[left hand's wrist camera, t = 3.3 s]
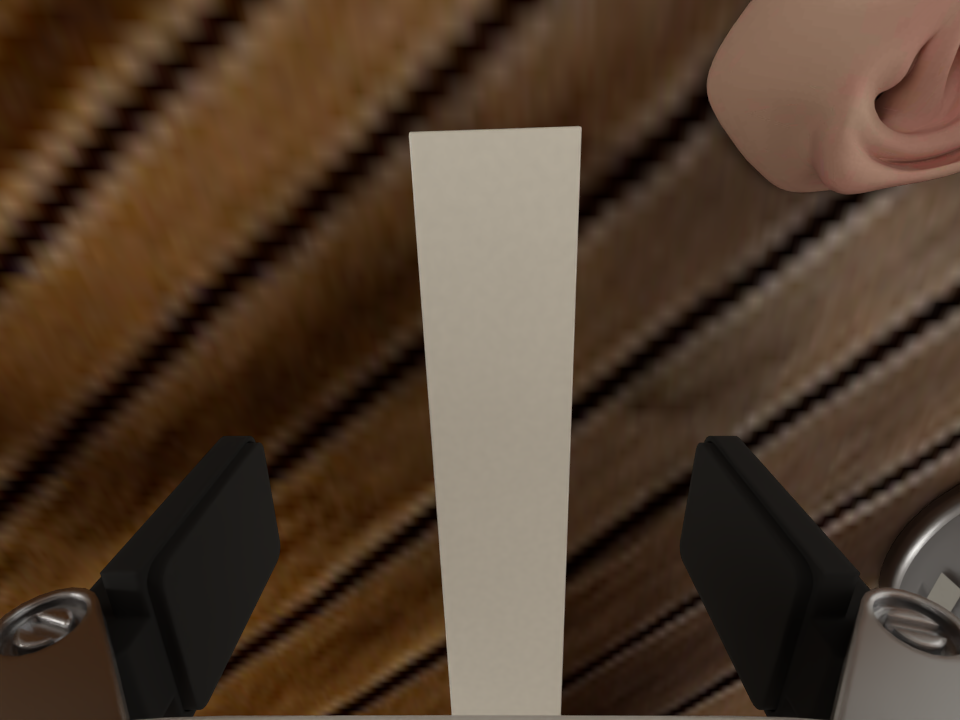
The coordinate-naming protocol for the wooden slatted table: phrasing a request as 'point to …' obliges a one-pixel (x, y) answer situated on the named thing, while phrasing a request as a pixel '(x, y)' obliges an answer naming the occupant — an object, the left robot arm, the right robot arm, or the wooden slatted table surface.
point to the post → (500, 399)
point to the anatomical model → (842, 92)
